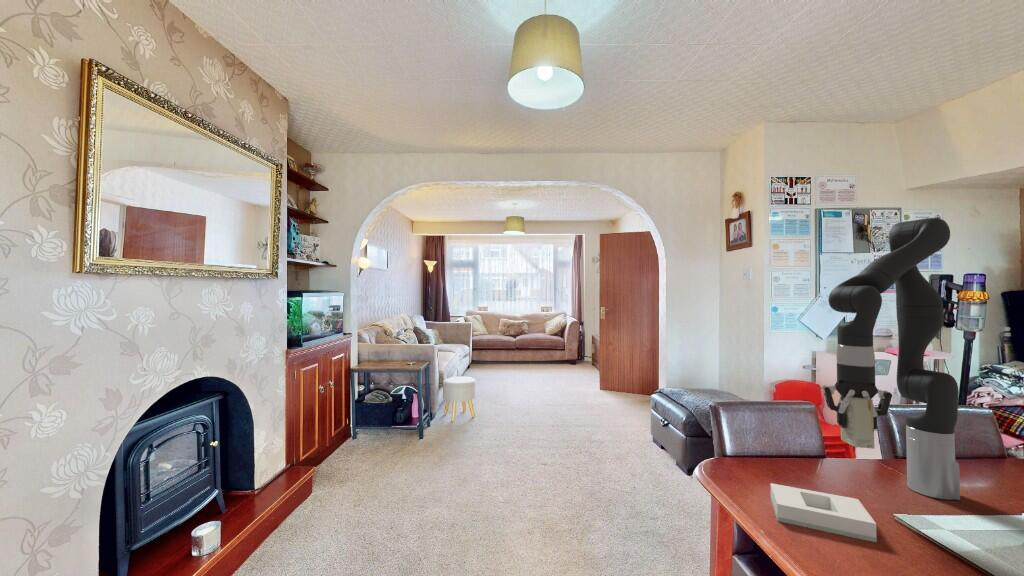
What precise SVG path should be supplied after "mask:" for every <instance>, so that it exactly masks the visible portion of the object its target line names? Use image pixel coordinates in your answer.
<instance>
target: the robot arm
mask: <svg viewBox="0 0 1024 576" xmlns="http://www.w3.org/2000/svg"><path fill="white" fill-rule="evenodd" d="M950 239H951V229H950V227H949V224H948V223H947V222H946V221H945V220H944V219H943V218H939V217H928V218H920V219H915V220H909V221H907V220H906V221H902V222H898V223H895V224H893V226H892V227H890V229H889V234H888V245H889V250H890V252H888V253H886V254H884V255H881V256H880V257H878V258H876V259H874V260H872V262H870V263H869V264H868V265H867V266H865V267H864V269H863V270H861V271H860V272H859V274H857V275H854V276H852V277H850V278H849V279H847V280H845V281H843V282H841V283H839V284H837V285H836V286H835V287H834V288H833V289H832V290H831V291H830V293H829V295H828V304H829V307H830V308H831V309H832V310H834V311H835V312H837V313H838V312H839V313H843V314H844V313H845V314H846V313H847V314H848V313H850V314H855V316H854V318H853V319H852V320H851V321H846V322H841V323H839V324H838V325H837V348H836V383H835V384H834V385H828V386H827V385H823V386H822V387H821V388H822V392H823V395H824V400H825V402H826V406H827V408H829V409H830V410H831V411H834V412H836V423H837V424H838V426H840V429H841V428H846V424H845V414H844V411H845V409H846V407H847V406H848V405H849V403H850V398H851V397H858V398H864V399H871V400H873V398H874V397H875V396H876V395H878V396H877V397H878V398H879V403H878V404H877V408H875V406H874V404H873V423H874V431H875V430H877V429H878V417H881V416H886V415H888V412H889V408H890V405H891V402H892V397H893V393H892V392H889V391H888V390H881V389H879V388H877V385H876V363H877V362H876V358H875V357H876V354H875V349H874V330H875V326H876V323H877V319H878V317H879V315H880V314H879V313H880V310H881V307H882V305H883V297H882V294H884V293H885V292H886V291H888V290H889V289H890V287H892V285H894V284H895V301H896V302H895V305H896V306H895V308H896V320H897V322H896V323H897V331H898V332H897V333H898V334H897V336H898V341H897V342H898V354H897V366H896V386H897V390H898V392H899V394H900V395H901V397H903V398H905V400H906V399H907V400H910V401H913V402H918V403H921V404H926V405H925V407H926V408H925V411H924V412H922V413H910V414H908V415H906V418H905V424H906V425H905V434H906V435H905V437H906V438H905V439H906V440H905V441H906V482H907V483H906V485H907V488H909V489H910V490H911V491H913V492H915V493H917V494H920V495H924V496H926V497H930V498H934V499H941V500H956V501H957V500H958V501H961V483H960V479H961V478H960V475H961V474H960V463H958V462H957V461H956V448H955V446H956V443H955V442H956V441H955V440H956V439H955V438H956V437H955V427H956V425H957V422H958V415H959V414H958V410H959V398H960V397H959V395H960V394H959V392H960V391H959V385H958V383H957V380H956V379H955V378H954V376H953V375H951V374H949V373H946V372H942V371H935V370H929V369H928V370H927V369H925V366H924V359H925V353H926V350H927V348H928V347H929V345H930V344H931V342H932V341H933V340H934V339H935V338H936V336H938V334H939V332H940V331H941V329H942V327H943V326H944V323H945V322H944V321H945V316H944V315H945V314H944V313H945V312H944V302H943V301H944V300H943V299H942V297H941V295H940V293H939V292H938V291H937V290H936V289H935V287H934V286H933V285H932V284H931V283H930V282H929V281H928V280H927V279H926V278H925V277H924V275H923V274H922V273H921V271H920V270H919V268H918V264H920V263H922V262H924V261H925V260H926V259H928V258H930V257H931V256H932V255H934V254H936V253H937V252H939V251H940V250H942V249H943V248H944V247H945V246H947V245H948V242H949V241H950ZM835 391H837V393H838V394H839V398H838V403H837V405H836V404H835V402H834V398H833V395H834V394H835ZM840 395H841V397H840ZM842 397H843V398H844V400H843V399H842Z"/></svg>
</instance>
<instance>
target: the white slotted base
mask: <svg viewBox="0 0 1024 576" xmlns="http://www.w3.org/2000/svg"><path fill="white" fill-rule="evenodd" d="M769 485H770V501H771V504H772V505H771V506H772V508H773V510H774V511H773V512H774V514H775V517H776V520H777V522H781V523H785V524H789V525H792V526H793V525H794V526H800V527H803V528H807V527H808V528H807V529H812V530H817V531H822V532H826V533H831V534H836V535H840V536H845V537H849V538H854V539H859V540H863V541H868V542H872V543H877V541H878V540H877V539H878V538H877V523H876V522H875V520H874V519H873V517H872V515H870V513H869V512H868V511H867V509H866V508H865V506H864V505H863V504H862V502H861V501H860V500H859V499H858V498H854V497H850V496H849V497H848V496H844V495H843V496H842V495H839V494H838V495H837V494H831V493H827V492H822V491H821V492H820V491H816V490H809V489H804V488H799V487H793V486H787V485H782V484H776V483H772V482H771V483H769Z"/></svg>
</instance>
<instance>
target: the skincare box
mask: <svg viewBox="0 0 1024 576" xmlns="http://www.w3.org/2000/svg"><path fill="white" fill-rule="evenodd" d="M840 397H841V395H840V394H839V398H840ZM842 399H843V400H844V398H843V397H842ZM873 405H874V400H873V399H864V398H858V397H851V398H850V403H849V405H848V406H847V407H846V409H845V411H844V414H845V424H846V428H841V427H840V440H841V441H843V442H845V443H846V444H849V445H850V446H852V447H855V448H860V449H861V448H862V449H863V448H864V449H875V434H874V433H875V429H874V423H873Z"/></svg>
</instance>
